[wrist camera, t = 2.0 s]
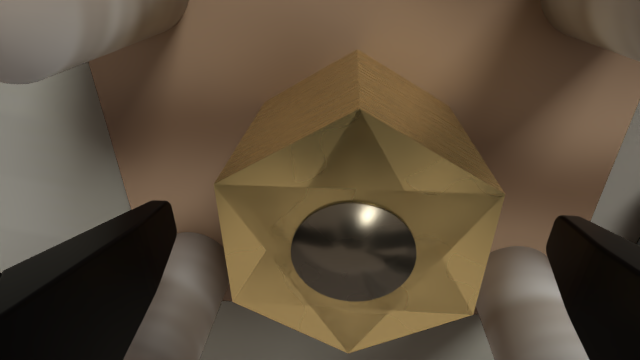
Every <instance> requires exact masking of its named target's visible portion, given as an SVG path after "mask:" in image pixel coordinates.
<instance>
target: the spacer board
mask: <svg viewBox="0 0 640 360" xmlns="http://www.w3.org/2000/svg"><path fill="white" fill-rule="evenodd" d="M356 49H358V50H360V51H361V52H363V53H365V54H366V55H368V56H369V57H371V58H373V59H374V60H376V61H378V62H379V63H381V64H382V65H384V66H386V67H387V68H389V69H390V70H392V71H394V72H395V73H397V74H399V75H400V76H402V77H403V78H405V79H407V80H408V81H410V82H412V83H413V84H415V85H416V86H418V87H420V88H421V89H423V90H424V91H426V92H428V93H429V94H431V95H433V96H434V97H436V98H437V99H439V100H441V101H442V102H444V103H445V104H447V105H449V107H450V108H451V110H452V111H453V113H454V115H455V116H456V118H457V119H458V121H459V122H460V124H461V126H462V127H463V129H464V130H465V132H466V133H467V135H468V137H469V138H470V140H471V141H472V143H473V144H474V146H475V147H476V149H477V151H478V152H479V154H480V155H481V157H482V158H483V160H484V162H485V163H486V165H487V166H488V168H489V169H490V171H491V173H492V174H493V176H494V177H495V179H496V180H497V182H498V183H499V185H500V187H501V188H502V190H503V191H504V193H505V197H504V201H503V205H502V208H501V212H500V216H499V220H498V223H497V227H496V231H495V235H494V238H493V242H492V246H491V250H490V254H489V257H488V261H487V265H486V269H485V272H484V276H483V280H482V284H481V287H480V291H479V295H478V299H477V303H476V306H475V310H474V314H478V315H479V317H480V319H481V322H482V325H483V328H484V331H485V334H486V337H487V339H488V342H489V345H490V348H491V351H492V354H493V357H494V360H589V358H588V356H587V354H586V352H585V350H584V348H583V346H582V344H581V341H580V339H579V337H578V335H577V333H576V331H575V329H574V327H573V325H572V323H571V320H570V318H569V316H568V314H567V311H566V309H565V306H564V303H563V300H562V298H561V295H560V292H559V289H558V286H557V283H556V280H555V277H554V274H553V272H552V269H551V266H550V263H549V260H548V257H547V254H546V244H547V241H548V238H549V235H550V232H551V229H552V226H553V224H554V221H555V219H556V218H557V217H558V216H560V215H573V216H580V217H582V218H584V219H586V220H588V221H591V218H592V216H593V213H594V211H595V208H596V206H597V204H598V201H599V199H600V196H601V194H602V191H603V189H604V186H605V184H606V181H607V179H608V176H609V174H610V172H611V169H612V167H613V164H614V162H615V159H616V157H617V154H618V152H619V149H620V147H621V144H622V142H623V140H624V137H625V135H626V132H627V130H628V127H629V125H630V122H631V120H632V117H633V115H634V113H635V110H636V108H637V105H638V103H639V100H640V0H0V82H3V83H9V84H28V83H33V82H38V81H40V80H43V79H45V78H48V77H50V76H53V75H56V74H58V73H61V72H63V71H66V70H68V69H71V68H73V67H76V66H78V65H81V64H84V63H86V62H89V66H90V69H91V73H92V76H93V80H94V83H95V86H96V90H97V93H98V97H99V100H100V104H101V107H102V111H103V114H104V117H105V121H106V124H107V128H108V131H109V135H110V138H111V142H112V145H113V148H114V152H115V155H116V159H117V162H118V166H119V169H120V172H121V176H122V179H123V183H124V186H125V190H126V193H127V197H128V200H129V203H130V207H131V210H132V209H134V208H136V207H138V206H141V205H143V204H145V203H147V202H149V201H151V200H162V201H168V202H169V203H170V204H171V206H172V210H173V214H174V219H175V223H176V227H177V236H176V240H175V243H174V245H173V248H172V251H171V254H170V257H169V259H168V262H167V265H166V268H165V271H164V273H163V276H162V279H161V282H160V284H159V287H158V289H157V292H156V294H155V296H154V298H153V300H152V302H151V304H150V306H149V308H148V310H147V312H146V315H145V317H144V319H143V321H142V323H141V325H140V327H139V329H138V331H137V333H136V335H135V337H134V339H133V341H132V343H131V345H130V347H129V349H128V351H127V353H126V355H125V357H124V359H123V360H200V357H201V354H202V352H203V349H204V347H205V344H206V341H207V339H208V336H209V334H210V331H211V328H212V326H213V323H214V320H215V318H216V315H217V313H218V310H219V307H220V305H221V302H222V301H232V296H231V290H230V283H229V277H228V271H227V265H226V258H225V252H224V246H223V240H222V234H221V227H220V221H219V215H218V209H217V203H216V196H215V190H214V183H215V181H216V180H217V178H218V176H219V175H220V173H221V172H222V170H223V168H224V167H225V165H226V163H227V162H228V160H229V159H230V157H231V155H232V154H233V152H234V151H235V149H236V147H237V146H238V144H239V142H240V141H241V139H242V138H243V136H244V134H245V133H246V131H247V130H248V128H249V126H250V125H251V123H252V121H253V120H254V118H255V117H256V115H257V113H258V112H259V110H260V108H261V107H262V105H263V104H264V102H265V101H267V100H269V99H271V98H272V97H274V96H276V95H278V94H279V93H281V92H283V91H285V90H286V89H288V88H290V87H292V86H293V85H295V84H297V83H299V82H300V81H302V80H304V79H306V78H307V77H309V76H311V75H313V74H314V73H316V72H318V71H320V70H321V69H323V68H325V67H327V66H328V65H330V64H332V63H334V62H335V61H337V60H339V59H341V58H342V57H344V56H346V55H348V54H349V53H351V52H353V51H355V50H356Z"/></svg>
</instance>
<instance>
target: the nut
mask: <svg viewBox="0 0 640 360" xmlns="http://www.w3.org/2000/svg"><path fill="white" fill-rule="evenodd" d="M214 190H215V196H216V203H217V209H218V215H219V221H220V227H221V234H222V240H223V246H224V252H225V258H226V265H227V271H228V277H229V283H230V290H231V296H232V302H234V303H236V304H239V305H241V306H243V307H245V308H248V309H250V310H252V311H254V312H256V313H259V314H261V315H263V316H265V317H268V318H270V319H272V320H274V321H277V322H279V323H281V324H283V325H286V326H288V327H290V328H292V329H295V330H297V331H299V332H301V333H304V334H306V335H308V336H310V337H313V338H315V339H317V340H319V341H322V342H324V343H326V344H328V345H331V346H333V347H335V348H337V349H339V350H342V351H344V352H346V353H351V352H354V351H358V350H361V349H364V348H367V347H371V346H374V345H377V344H380V343H384V342H387V341H390V340H393V339H397V338H400V337H403V336H406V335H410V334H413V333H416V332H419V331H422V330H426V329H429V328H432V327H435V326H439V325H442V324H445V323H448V322H452V321H455V320H458V319H461V318H465V317H468V316H471V315H473V314H474V310H475V306H476V303H477V299H478V295H479V291H480V287H481V284H482V280H483V276H484V272H485V269H486V265H487V261H488V257H489V254H490V250H491V246H492V242H493V238H494V235H495V231H496V227H497V223H498V220H499V216H500V212H501V208H502V205H503V201H504V197H505V193H504V191H503V190H502V188H501V187H500V185H499V183H498V182H497V180H496V179H495V177H494V176H493V174H492V173H491V171H490V169H489V168H488V166H487V165H486V163H485V162H484V160H483V158H482V157H481V155H480V154H479V152H478V151H477V149H476V147H475V146H474V144H473V143H472V141H471V140H470V138H469V137H468V135H467V133H466V132H465V130H464V129H463V127H462V126H461V124H460V122H459V121H458V119H457V118H456V116H455V115H454V113H453V111H452V110H451V108H450V107H449V105H447V104H445V103H444V102H442V101H441V100H439V99H437V98H436V97H434V96H433V95H431V94H429V93H428V92H426V91H424V90H423V89H421V88H420V87H418V86H416V85H415V84H413V83H412V82H410V81H408V80H407V79H405V78H403V77H402V76H400V75H399V74H397V73H395V72H394V71H392V70H390V69H389V68H387V67H386V66H384V65H382V64H381V63H379V62H378V61H376V60H374V59H373V58H371V57H369V56H368V55H366V54H365V53H363V52H361V51H360V50H358V49H356V50H355V51H353V52H351V53H349V54H348V55H346V56H344V57H342V58H341V59H339V60H337V61H335V62H334V63H332V64H330V65H328V66H327V67H325V68H323V69H321V70H320V71H318V72H316V73H314V74H313V75H311V76H309V77H307V78H306V79H304V80H302V81H300V82H299V83H297V84H295V85H293V86H292V87H290V88H288V89H286V90H285V91H283V92H281V93H279V94H278V95H276V96H274V97H272V98H271V99H269V100H267V101H265V102H264V104H263V105H262V107H261V108H260V110H259V112H258V113H257V115H256V117H255V118H254V120H253V121H252V123H251V125H250V126H249V128H248V130H247V131H246V133H245V134H244V136H243V138H242V139H241V141H240V142H239V144H238V146H237V147H236V149H235V151H234V152H233V154H232V155H231V157H230V159H229V160H228V162H227V163H226V165H225V167H224V168H223V170H222V172H221V173H220V175H219V176H218V178H217V180H216V181H215V183H214Z"/></svg>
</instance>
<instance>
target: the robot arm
mask: <svg viewBox="0 0 640 360" xmlns="http://www.w3.org/2000/svg"><path fill="white" fill-rule="evenodd" d="M176 236H177V227H176V223H175V219H174V214H173V210H172V206H171V204H170V203H169V202H168V201H162V200H151V201H149V202H147V203H145V204H143V205H141V206H138V207H136V208H134V209H132V210H130V211H128V212H126V213H124V214H122V215H119V216H117V217H115V218H113V219H111V220H109V221H107V222H105V223H103V224H101V225H98V226H96V227H94V228H92V229H90V230H88V231H86V232H84V233H82V234H79V235H77V236H75V237H73V238H71V239H69V240H67V241H65V242H63V243H61V244H58V245H56V246H54V247H52V248H50V249H48V250H46V251H44V252H42V253H39V254H37V255H35V256H33V257H31V258H29V259H27V260H25V261H23V262H21V263H18V264H16V265H14V266H12V267H10V268H8V269H6V270H4V271H3V272H2V273H0V360H123V359H124V357H125V355H126V353H127V351H128V349H129V347H130V345H131V343H132V341H133V339H134V337H135V335H136V333H137V331H138V329H139V327H140V325H141V323H142V321H143V319H144V317H145V315H146V312H147V310H148V308H149V306H150V304H151V302H152V300H153V298H154V296H155V294H156V292H157V289H158V287H159V284H160V282H161V279H162V276H163V273H164V271H165V268H166V265H167V262H168V259H169V257H170V254H171V251H172V248H173V245H174V243H175V240H176ZM546 254H547V257H548V260H549V263H550V266H551V269H552V272H553V274H554V277H555V280H556V283H557V286H558V289H559V292H560V295H561V298H562V300H563V303H564V306H565V309H566V311H567V314H568V316H569V318H570V320H571V323H572V325H573V327H574V329H575V331H576V333H577V335H578V337H579V339H580V341H581V344H582V346H583V348H584V350H585V352H586V354H587V356H588V358H589V360H640V246H638V245H636V244H634V243H632V242H630V241H628V240H626V239H624V238H622V237H620V236H618V235H616V234H614V233H612V232H610V231H608V230H606V229H604V228H602V227H600V226H598V225H596V224H594V223H592V222H590V221H588V220H586V219H584V218H582V217H580V216H573V215H560V216H558V217H557V218H556V219H555V221H554V224H553V226H552V229H551V232H550V235H549V238H548V241H547V244H546Z"/></svg>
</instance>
